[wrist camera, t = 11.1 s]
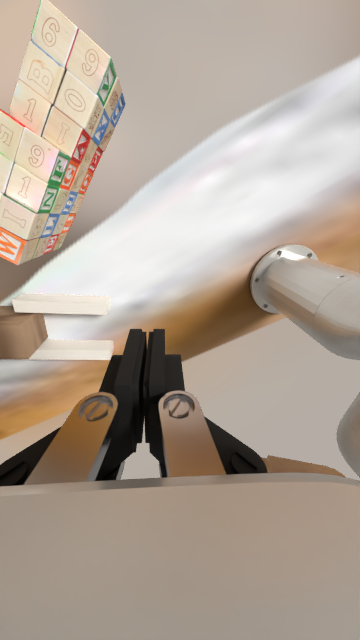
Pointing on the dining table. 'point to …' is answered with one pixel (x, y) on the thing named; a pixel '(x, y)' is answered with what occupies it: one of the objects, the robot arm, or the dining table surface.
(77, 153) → the stack of blocks
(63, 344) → the chute rail
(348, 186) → the dining table surface
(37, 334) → the walnut block
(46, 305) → the chute rail
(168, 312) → the dining table surface
